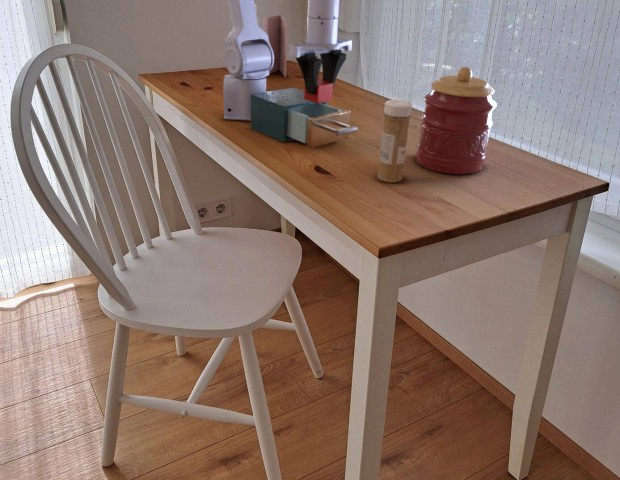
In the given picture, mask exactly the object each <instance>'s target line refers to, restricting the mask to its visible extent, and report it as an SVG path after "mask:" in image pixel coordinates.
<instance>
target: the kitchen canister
mask: <svg viewBox="0 0 620 480" xmlns="http://www.w3.org/2000/svg"><path fill="white" fill-rule="evenodd" d="M430 89H432V90H431V92H429V93H427V94H426V95H424V97H423V102H425V109H424V112H423V113H422V114H421V122H420V123H421V124H420V132H419V137H418V145H417V146H416V161H417V163H418V164H419V165H420V166H422V167H423V168H425V169H428V170H431V171H434V172H437V173H443V174H448V175H449V174H450V175H467V174H468V175H469V174H473V173H477V172H479V171H481V170H482V169H483V166H484V163H485V162H486V158H487V153H486V152H487V148H488V144H489V137H490V134H491V128H492V126H493V121H492V113H493V111H494V110H495V109H496V107H497V102H496V101H495V100H494V99H493V98H492V95H494V93H495V89H494V88H493V87H492V86H491V85H489V82H487V81H486V80H484V79H481V78H478V77H475V76H473V72H472V69H471V68H470V67H468V66H462V67H460V68H459V69H458V70H457V73H456V75H445V76H441V77H439V79H437V80H435V81H433V82H431V84H430Z"/></svg>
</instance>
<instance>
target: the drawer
mask: <svg viewBox="0 0 620 480" xmlns="http://www.w3.org/2000/svg"><path fill="white" fill-rule="evenodd" d="M350 123H351V110H348V109H344V110H342V109H341V108H338V107H335V106H333V105H329V104H327V105H326V104H323V103H316V104H310V105H305V106H300V107H295V108H290V109H287V113H286V136H288V137H291V138H293V139H296V141H297V142H298V141H299V142H301V143H303V144H306V146H307V147H308V148H310V149H311V148H315V147H319V146H320V147H321V146H324V145H327V144H332V143H335V142H339V141H344V140H348V139H349V138H350V137H349V134H353V133H356V132H357V131H358V127H357V126H356V125H350Z"/></svg>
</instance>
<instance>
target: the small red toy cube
mask: <svg viewBox="0 0 620 480" xmlns="http://www.w3.org/2000/svg"><path fill="white" fill-rule="evenodd" d="M304 91H305V93H304V99H306V100H309V101H312V102H315V103H323V102H327V103H328V102H332V101H333V91H334V87H333V83H330V82H327V81H324V80H323V79H320V78H318V83H317V91H316V95H311V94H308V93H307V92H306V87H305V86H304Z"/></svg>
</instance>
